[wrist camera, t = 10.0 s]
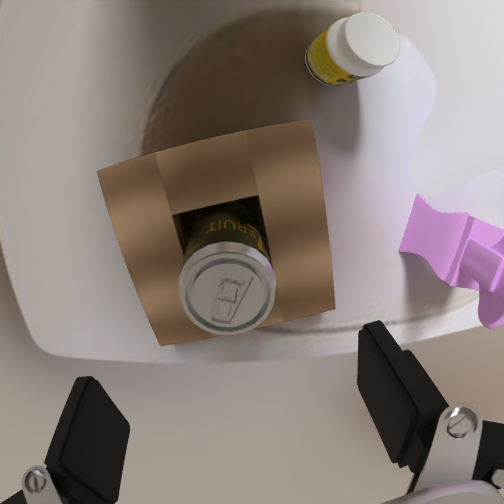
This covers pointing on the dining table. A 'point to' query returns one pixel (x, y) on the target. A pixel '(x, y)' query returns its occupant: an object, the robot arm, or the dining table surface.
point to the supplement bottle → (352, 49)
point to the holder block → (214, 192)
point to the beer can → (226, 271)
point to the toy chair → (461, 254)
